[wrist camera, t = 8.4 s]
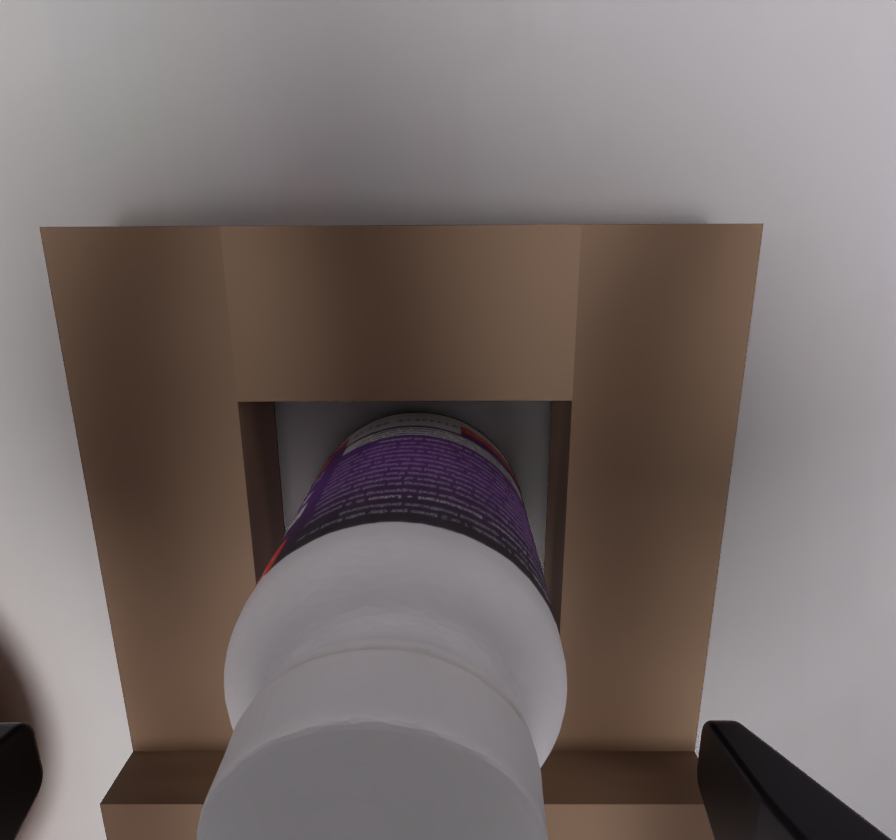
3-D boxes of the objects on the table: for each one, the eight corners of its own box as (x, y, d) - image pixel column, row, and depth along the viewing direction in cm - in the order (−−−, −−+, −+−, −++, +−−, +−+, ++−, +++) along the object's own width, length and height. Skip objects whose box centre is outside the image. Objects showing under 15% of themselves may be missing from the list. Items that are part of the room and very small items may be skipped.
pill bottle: (295, 425, 15) (58, 698, 6) (505, 392, 15) (592, 624, 6) (340, 609, 17) (203, 1057, 8) (532, 582, 17) (636, 1011, 7)
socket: (709, 228, 14) (807, 220, 10) (656, 725, 18) (712, 855, 14) (109, 230, 14) (-18, 224, 10) (183, 725, 18) (110, 855, 14)
